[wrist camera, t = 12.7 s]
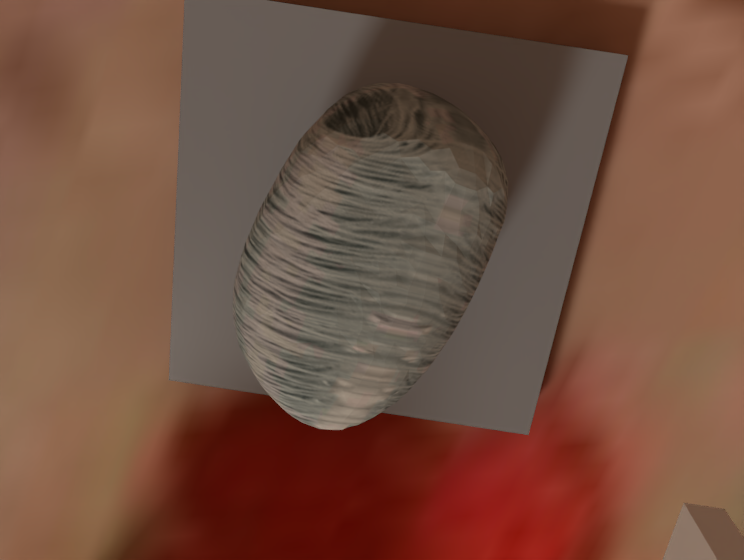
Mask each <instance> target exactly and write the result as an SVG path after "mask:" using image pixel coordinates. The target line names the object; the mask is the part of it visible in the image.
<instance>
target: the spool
mask: <svg viewBox="0 0 744 560" xmlns="http://www.w3.org/2000/svg"><path fill="white" fill-rule="evenodd" d="M507 198H508V178H507V174H506V170H505V167H504V163H503V161H502V158H501V156H500V154H499V152H498V151H497V149H496V147H495V145H494V144H493V143H492V141H491V140H490V139H489V137H488V136H487V135H486V134H485V133H484V132H483V130H482V129H481V128H480V127H479V126H478V125H477V124H476V122H474V121H473V120H472V119H471V118H470V117H469V116H467V115H466V114H465V113H464V112H463V111H461V110H460V109H459V108H458V107H456V106H455V105H453V104H451V103H450V102H448V101H446V100H444V99H443V98H441V97H439V96H437V95H435V94H433V93H430V92H428V91H425V90H422V89H419V88H416V87H413V86H410V85H405V84H400V83H377V84H371V85H367V86H364V87H361V88H359V89H356V90H353V91H351V92H349V93H348V94H346V95H345V96H343V97H342V98H341V99H339V100H338V101H337V102H336V103H335V104H333V105H332V106H331V107H330V108H328V109H327V110H326V112H325V113H324V114H323V115H322V116H321V117H320V118H319V119H318V120H317V121H316V122H315V123H314V124H313V125H312V126H311V127H310V129H309V130H308V131H307V132H306V133H305V134H304V135H303V136H302V138H301V139H300V140H299V141H298V143H297V145H296V146H295V148H294V150H293V151H292V153H291V154H290V156H289V158H288V159H287V161H286V162H285V164H284V165H283V167H282V169H281V170H280V172H279V174H278V176H277V178H276V180H275V182H274V183H273V185H272V187H271V189H270V191H269V193H268V195H267V196H266V198H265V200H264V202H263V204H262V206H261V208H260V210H259V212H258V214H257V216H256V219H255V221H254V224H253V226H252V229H251V231H250V233H249V235H248V238H247V240H246V242H245V245H244V249H243V252H242V255H241V259H240V262H239V266H238V270H237V274H236V277H235V282H234V289H233V319H234V326H235V331H236V335H237V339H238V343H239V347H240V349H241V351H242V353H243V355H244V357H245V359H246V360H247V362H248V364H249V366H250V368H251V369H252V371H253V373H254V375H255V377H256V378H257V380H258V382H259V383H260V384H261V386H262V387H263V388H264V389H265V391H266V392H267V393H268V394H269V395H270V396H271V398H272V399H273V400H274V401H275V402H276V403H277V404H278V405H279V406H280V407H281V408H282V409H284V410H285V411H286V412H287V413H288V414H290V415H291V416H293V417H294V418H296V419H297V420H299V421H300V422H302V423H304V424H307V425H310V426H313V427H315V428H318V429H328V430H343V429H345V428H347V427H351V426H356V425H359V424H361V423H363V422H365V421H367V420H369V419H371V418H373V417H375V416H377V415H378V414H379V413H381V412H382V411H384V410H385V409H387V408H388V407H390V406H391V405H393V404H395V403H396V402H397V401H398V400H399V399H400V398H402V397H403V396H404V395H405V394H406V393H407V392H408V391H409V390H410V389H411V388H412V386H413V385H414V384H415V383H416V382H417V380H418V379H419V378H420V377H421V376H422V375H423V374H424V373H425V372H426V370H427V369H428V368H429V367H430V365H431V364H432V363H433V361H434V360H435V358H436V357H437V356H438V354H439V353H440V351H441V350H442V349H443V347H444V346H445V344H446V343H447V342H448V340H449V338H450V337H451V335H452V334H453V332H454V330H455V329H456V327H457V325H458V323H459V322H460V320H461V318H462V316H463V314H464V313H465V311H466V309H467V307H468V305H469V303H470V301H471V299H472V297H473V295H474V293H475V291H476V289H477V287H478V285H479V282H480V280H481V278H482V276H483V274H484V271H485V269H486V267H487V264H488V262H489V259H490V257H491V255H492V252H493V250H494V247H495V244H496V241H497V238H498V235H499V233H500V231H501V228H502V226H503V224H504V221H505V216H506V209H507Z"/></svg>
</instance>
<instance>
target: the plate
mask: <svg viewBox="0 0 744 560" xmlns="http://www.w3.org/2000/svg"><path fill="white" fill-rule="evenodd" d="M627 58H628V55H622V54H616V53H609V52H603V51H596V50H590V49H583V48H577V47H570V46H564V45H557V44H550V43H544V42H537V41H531V40H524V39H518V38H511V37H505V36H498V35H491V34H485V33H478V32H472V31H465V30H459V29H452V28H446V27H439V26H433V25H426V24H419V23H413V22H406V21H400V20H393V19H387V18H380V17H374V16H367V15H360V14H354V13H347V12H341V11H334V10H328V9H321V8H315V7H308V6H302V5H295V4H288V3H282V2H275V1H269V0H185V3H184V27H183V52H182V76H181V100H180V124H179V149H178V173H177V197H176V221H175V246H174V270H173V294H172V318H171V343H170V367H169V380H172V381H179V382H185V383H192V384H198V385H205V386H211V387H218V388H224V389H231V390H237V391H244V392H251V393H257V394H264V395H269V394H268V393H267V392H266V391H265V389H264V388H263V387H262V386H261V384H260V383H259V382H258V380H257V378H256V377H255V375H254V373H253V371H252V369H251V368H250V366H249V364H248V362H247V360H246V359H245V357H244V355H243V353H242V351H241V349H240V347H239V343H238V339H237V335H236V331H235V326H234V319H233V289H234V282H235V277H236V274H237V270H238V266H239V262H240V259H241V255H242V252H243V249H244V245H245V242H246V240H247V238H248V235H249V233H250V231H251V229H252V226H253V224H254V221H255V219H256V216H257V214H258V212H259V210H260V208H261V206H262V204H263V202H264V200H265V198H266V196H267V195H268V193H269V191H270V189H271V187H272V185H273V183H274V182H275V180H276V178H277V176H278V174H279V172H280V170H281V169H282V167H283V165H284V164H285V162H286V161H287V159H288V158H289V156H290V154H291V153H292V151H293V150H294V148H295V146H296V145H297V143H298V141H299V140H300V139H301V138H302V136H303V135H304V134H305V133H306V132H307V131H308V130H309V129H310V127H311V126H312V125H313V124H314V123H315V122H316V121H317V120H318V119H319V118H320V117H321V116H322V115H323V114H324V113H325V112H326V110H327V109H328V108H330V107H331V106H332V105H333V104H335V103H336V102H337V101H338V100H339V99H341V98H342V97H343V96H345V95H346V94H348V93H349V92H351V91H353V90H356V89H359V88H361V87H364V86H367V85H371V84H377V83H400V84H405V85H410V86H413V87H416V88H419V89H422V90H425V91H428V92H430V93H433V94H435V95H437V96H439V97H441V98H443V99H444V100H446V101H448V102H450V103H451V104H453V105H455V106H456V107H458V108H459V109H460V110H461V111H463V112H464V113H465V114H466V115H467V116H469V117H470V118H471V119H472V120H473V121H474V122H476V124H477V125H478V126H479V127H480V128H481V129H482V130H483V132H484V133H485V134H486V135H487V136H488V137H489V139H490V140H491V141H492V143H493V144H494V145H495V147H496V149H497V151H498V152H499V154H500V156H501V158H502V161H503V163H504V167H505V170H506V174H507V178H508V198H507V209H506V216H505V221H504V224H503V226H502V228H501V231H500V233H499V235H498V238H497V241H496V244H495V247H494V250H493V252H492V255H491V257H490V259H489V262H488V264H487V267H486V269H485V271H484V274H483V276H482V278H481V280H480V282H479V285H478V287H477V289H476V291H475V293H474V295H473V297H472V299H471V301H470V303H469V305H468V307H467V309H466V311H465V313H464V314H463V316H462V318H461V320H460V322H459V323H458V325H457V327H456V329H455V330H454V332H453V334H452V335H451V337H450V338H449V340H448V342H447V343H446V344H445V346H444V347H443V349H442V350H441V351H440V353H439V354H438V356H437V357H436V358H435V360H434V361H433V363H432V364H431V365H430V367H429V368H428V369H427V370H426V372H425V373H424V374H423V375H422V376H421V377H420V378H419V379H418V380H417V382H416V383H415V384H414V385H413V386H412V388H411V389H410V390H409V391H408V392H407V393H406V394H405V395H404V396H403V397H402V398H400V399H399V400H398V401H397V402H396V403H395V404H393V405H391V406H390V407H388V408H387V409H385V410H384V411H382V412H381V413H388V414H394V415H401V416H408V417H414V418H421V419H427V420H434V421H440V422H447V423H453V424H460V425H466V426H473V427H479V428H486V429H493V430H499V431H506V432H512V433H519V434H525V435H529V431H530V427H531V423H532V419H533V416H534V412H535V408H536V404H537V400H538V397H539V393H540V389H541V385H542V381H543V378H544V374H545V370H546V366H547V362H548V359H549V355H550V351H551V347H552V343H553V340H554V336H555V332H556V328H557V324H558V321H559V317H560V313H561V309H562V305H563V302H564V298H565V294H566V290H567V286H568V283H569V279H570V275H571V271H572V267H573V264H574V260H575V256H576V252H577V248H578V245H579V241H580V237H581V233H582V229H583V226H584V222H585V218H586V214H587V210H588V207H589V203H590V199H591V195H592V191H593V188H594V184H595V180H596V176H597V172H598V169H599V165H600V161H601V157H602V153H603V150H604V146H605V142H606V138H607V134H608V131H609V127H610V123H611V119H612V115H613V112H614V108H615V104H616V100H617V96H618V93H619V89H620V85H621V81H622V77H623V74H624V70H625V66H626V62H627Z"/></svg>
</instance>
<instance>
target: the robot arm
mask: <svg viewBox="0 0 744 560" xmlns="http://www.w3.org/2000/svg"><path fill="white" fill-rule="evenodd" d="M663 560H744V538H743V536H742V535H741V533H740V532H739V530H738V529H737V527H736V526H735V524H734V523H733V521H732V520H731V518H730V517H729V515H728V514H727V512H726V511H725V509H721V508H714V507H708V506H701V505H695V504H688V503H683V506H682V509H681V512H680V514H679V517H678V520H677V522H676V525H675V528H674V530H673V533H672V536H671V539H670V541H669V544H668V547H667V549H666V552H665V555H664V557H663Z"/></svg>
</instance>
